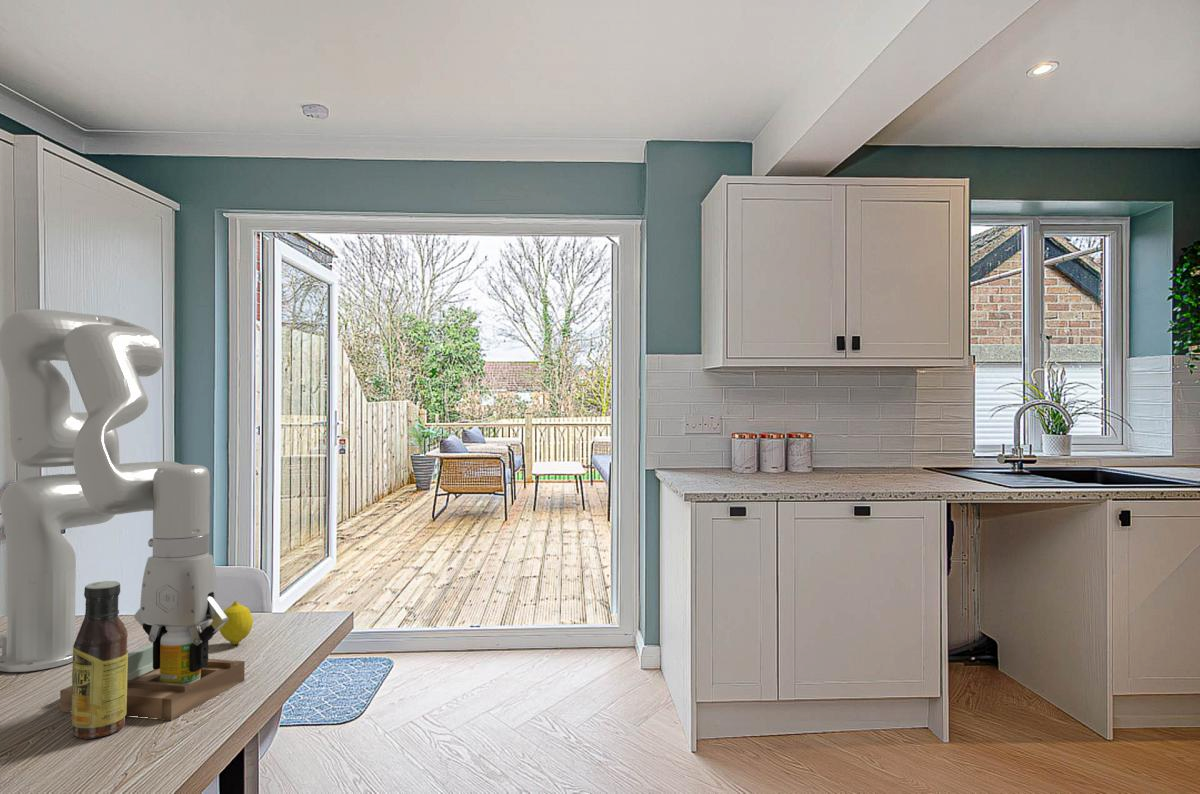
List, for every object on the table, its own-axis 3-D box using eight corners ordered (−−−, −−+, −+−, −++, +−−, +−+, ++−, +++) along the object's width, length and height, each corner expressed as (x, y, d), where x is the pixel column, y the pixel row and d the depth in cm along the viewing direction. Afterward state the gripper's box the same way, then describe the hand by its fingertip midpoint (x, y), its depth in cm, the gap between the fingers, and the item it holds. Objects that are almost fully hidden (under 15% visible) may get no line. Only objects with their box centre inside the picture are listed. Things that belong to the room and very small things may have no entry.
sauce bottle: (66, 731, 103) (68, 583, 103) (120, 717, 107) (121, 575, 107) (77, 746, 98) (78, 591, 98) (132, 732, 103) (134, 583, 103)
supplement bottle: (182, 691, 112) (183, 624, 112) (151, 688, 113) (151, 622, 113) (208, 678, 117) (209, 614, 117) (178, 675, 118) (178, 612, 118)
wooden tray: (60, 711, 109) (60, 684, 109) (145, 672, 125) (145, 649, 125) (171, 720, 106) (171, 693, 106) (244, 680, 122) (244, 656, 122)
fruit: (230, 651, 136) (231, 606, 136) (212, 646, 139) (212, 602, 139) (258, 643, 141) (259, 599, 141) (240, 638, 144) (240, 595, 144)
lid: (75, 679, 113) (75, 655, 113) (120, 660, 122) (120, 638, 122) (124, 682, 112) (125, 658, 112) (167, 663, 120) (167, 641, 120)
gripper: (111, 549, 113) (110, 672, 113) (215, 554, 110) (214, 680, 110) (150, 540, 120) (149, 656, 120) (248, 544, 117) (247, 662, 117)
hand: (180, 666), depth 115 cm, fingers closed on supplement bottle, 5 cm apart
